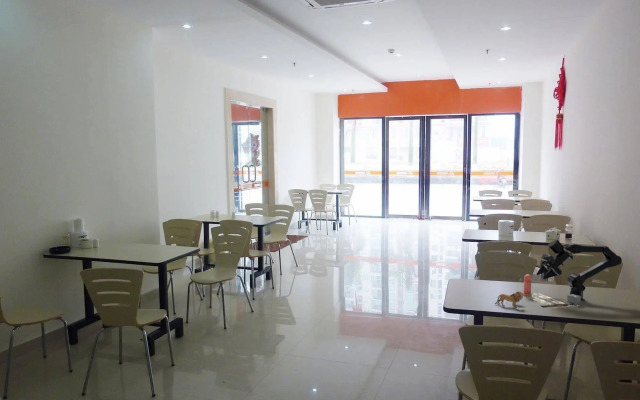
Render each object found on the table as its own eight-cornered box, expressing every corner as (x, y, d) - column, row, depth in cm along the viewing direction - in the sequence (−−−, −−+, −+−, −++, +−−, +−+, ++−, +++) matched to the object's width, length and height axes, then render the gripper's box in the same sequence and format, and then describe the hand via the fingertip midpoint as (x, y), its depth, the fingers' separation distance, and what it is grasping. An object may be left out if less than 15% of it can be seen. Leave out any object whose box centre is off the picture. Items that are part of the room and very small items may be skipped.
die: (571, 302, 279) (572, 294, 278) (580, 304, 274) (580, 296, 274) (567, 303, 276) (567, 295, 275) (575, 306, 272) (576, 297, 271)
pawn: (527, 293, 290) (528, 273, 289) (533, 296, 286) (534, 275, 285) (520, 294, 289) (521, 273, 288) (526, 296, 284) (527, 275, 283)
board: (540, 295, 294) (540, 292, 293) (568, 306, 271) (568, 303, 271) (517, 296, 290) (517, 294, 290) (543, 307, 267) (543, 305, 267)
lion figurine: (521, 305, 270) (522, 290, 270) (523, 308, 265) (523, 292, 265) (494, 303, 274) (494, 288, 273) (495, 306, 269) (495, 290, 268)
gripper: (543, 246, 294) (524, 263, 295) (557, 252, 275) (537, 270, 277) (556, 259, 294) (537, 276, 296) (570, 266, 276) (550, 284, 277)
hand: (540, 276), depth 286 cm, fingers open, 9 cm apart
